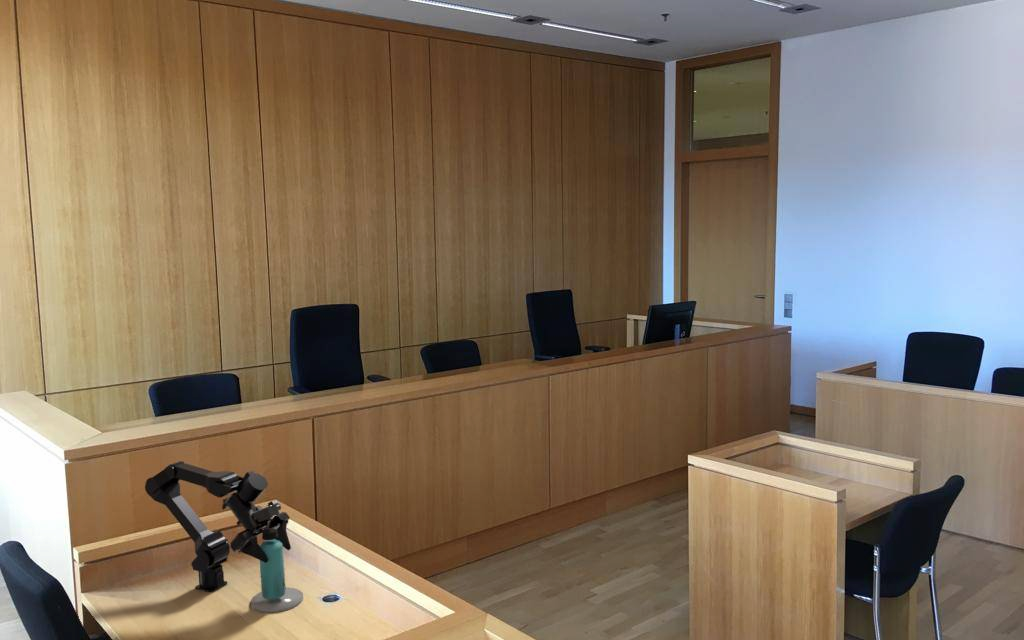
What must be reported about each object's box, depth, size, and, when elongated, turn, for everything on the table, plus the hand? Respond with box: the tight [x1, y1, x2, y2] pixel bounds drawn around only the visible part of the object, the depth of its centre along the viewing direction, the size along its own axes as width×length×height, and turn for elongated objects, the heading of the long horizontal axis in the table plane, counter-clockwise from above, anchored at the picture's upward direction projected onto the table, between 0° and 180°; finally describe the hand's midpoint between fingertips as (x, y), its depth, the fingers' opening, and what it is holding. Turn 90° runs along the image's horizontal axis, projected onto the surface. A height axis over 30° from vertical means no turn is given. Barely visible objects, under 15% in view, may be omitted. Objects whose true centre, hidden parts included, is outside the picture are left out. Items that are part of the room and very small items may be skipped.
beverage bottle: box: [259, 528, 287, 599], centre depth 227 cm, size 6×7×20 cm
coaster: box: [250, 586, 304, 614], centre depth 229 cm, size 14×14×1 cm
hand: (278, 555), depth 227 cm, fingers open, 9 cm apart
